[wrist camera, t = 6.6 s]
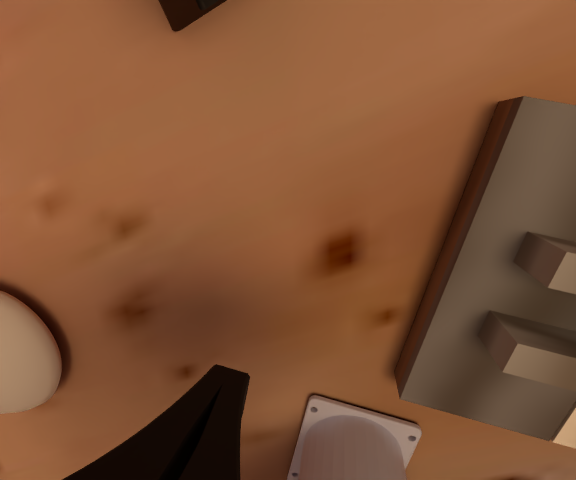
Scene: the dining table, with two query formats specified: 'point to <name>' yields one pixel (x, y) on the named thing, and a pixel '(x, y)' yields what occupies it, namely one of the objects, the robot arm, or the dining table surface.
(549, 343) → the door and jamb
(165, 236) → the dining table surface
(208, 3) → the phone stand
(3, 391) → the flower in vase
